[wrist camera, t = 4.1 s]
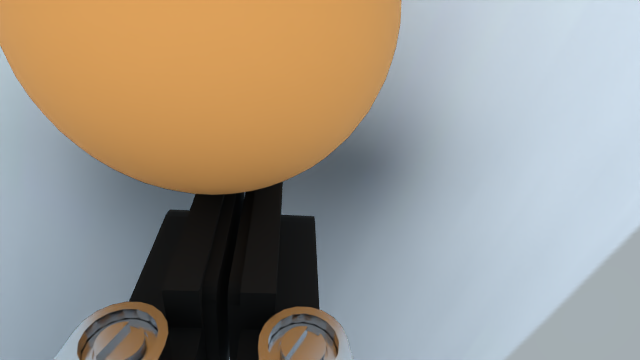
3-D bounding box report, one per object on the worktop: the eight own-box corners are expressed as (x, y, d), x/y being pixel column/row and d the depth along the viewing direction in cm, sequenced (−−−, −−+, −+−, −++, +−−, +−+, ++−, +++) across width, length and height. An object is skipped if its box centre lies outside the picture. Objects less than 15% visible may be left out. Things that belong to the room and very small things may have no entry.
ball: (312, 312, 7) (395, -110, 2) (7, 198, 8) (-387, -280, 3) (391, 96, 11) (485, -233, 6) (179, 35, 11) (116, -295, 7)
